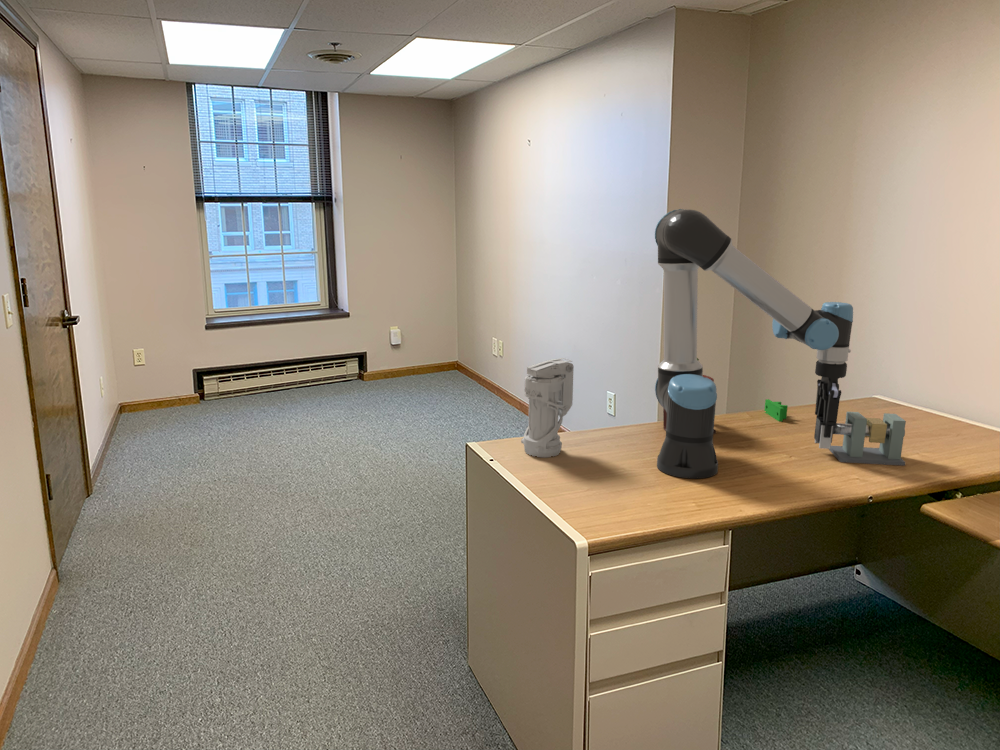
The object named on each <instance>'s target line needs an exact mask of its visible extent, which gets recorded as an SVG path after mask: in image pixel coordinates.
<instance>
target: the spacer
mask: <svg viewBox="0 0 1000 750" xmlns="http://www.w3.org/2000/svg"><path fill="white" fill-rule="evenodd" d="M865 418H866V419H867V424H866V425H869V426H870V427H871V428H870V435H869V436H865V438H868V442H869V443H871V444H872V443H873V444H875V443H876V444H880V443H885V436H886V428H887V424H886V423H885V422H883V419H881V418H876V417H865Z"/></svg>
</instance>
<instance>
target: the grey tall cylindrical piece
mask: <svg viewBox="0 0 1000 750" xmlns="http://www.w3.org/2000/svg"><path fill="white" fill-rule="evenodd" d="M565 360H566V361H565ZM571 362H573V360H572V359H571V360H570V359H569V358H566V357H565V358H564V357H561V358H554V359H548V360H544V361H541V362H539V363H535V364H533V365H528V367H527V366H526V374H527V375H526V376H524V397H526V398H528V426H527V427H526V429H525V432H524V434H523V438H521V440H520V442H521V444H523V448H524V452H525V453H526V454H527V455H528V454H529V455H528V456H531V455H532V456H531V457H535V456H537V457H536V458H552V457H551V456H553V457H556V456H558V455H560V454H561V450H562V445H563V443H562V441H561V437H560V435H559V434H558V432H559V430H560V428H561V426H562V424H563V420H564V419H563V418H564V416H566V415H567V414H568V412H569V411H570V409H571V408H572V407H573V400H574V399H573V396H574V395H573V392H574V364H573V363H571ZM559 453H560V454H559Z"/></svg>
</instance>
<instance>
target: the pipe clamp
mask: <svg viewBox="0 0 1000 750" xmlns="http://www.w3.org/2000/svg"><path fill="white" fill-rule="evenodd" d="M788 407H789V406H788V405H787V404H785V405H784V404H782V401H773V400H771V399H769V398H768V399H767V398H766V399H765V401H764V411H766V412H764V413H765V414H766V415H768V416H769V417H771V418H773V419H774V420H776V421H777V422H779V423H780V422H783V420H787V418H788Z"/></svg>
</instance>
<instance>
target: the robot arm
mask: <svg viewBox="0 0 1000 750" xmlns="http://www.w3.org/2000/svg"><path fill="white" fill-rule="evenodd" d="M654 230H655V231H654V239H655V242H656V243H655V244H656V246H657V264H658V266H660V267H661V268H662V270H663V359H662V361H661V362H659V364H658V365H657V379H656V382H655V385H654V391H655V393H654V394H655V397H656V400H657V402H658V403H659V405H660V406H661V407H662V408H664V409H665V411H666V412H667V422H666V431H665V438H664V441H663V443H662V446H661V447H660V451H659V453H658V455H657V461H656V467H657V469H658V470H659V471H661V472H662V473H664V474H666V475H670V476H673V477H677V478H682V479H683V478H684V479H707V478H710V477H713V476H716V475H717V474H718V471H719V470H718V469H719V461H718V458H717V452H716V450H715V446H714V440H713V439H714V434H713V431H714V428H715V420H716V419H715V417H716V416H715V415H716V406H717V404H716V403H717V399H718V393H717V385H716V383H715V381H714V382H713V381H712V380H710V379H709V378H706V377H703V375H704V374H703V372H704V371H703V364H702V363H701V362H700V361H699V360H697V358H698V357H697V356H698V290H699V289H698V279H699V278H698V275H699V271H698V270H699V269H702V270H703V271H705V272H706V271H711V272H713V273H714V274H716V276H717V277H719V278H721V280H722V281H724V282H725V283H727V284H728V285H729V286H730V287H732V288H733V289H735V290H736V291H737V292H738V293H739V294H741V296H743V297H745V298H746V299H747V300H749V301H750V302H751V303H752V304H754V305H755V306H756V307H758V308H759V309H760V310H761V311H763V312H764V313H766V315H767V316H769V317H771V318H772V326H771V327H772V333H773V335H774V337H775V338H777V339H783V340H789V339H793V340H795V341H797V342H799V343H802V344H804V345H806V346H808V347H809V348H810V349H812V350H817V351H816V359H817V361H816V362H815V370H814V374H815V375H816V376H819V377H821V378H820V379H819V378H818V379H817V380H816V383H817V388H816V389H817V390H816V399H815V411H814V415H816V417H823V423H820V425H821V433H820V442H817V441H816V440H815V439H814V444H818V448H819V449H823V450H825V449H826V450H829V449H830V447H831V446H832V443H831V438H832V439H833V437H832V429H833V426H834V425H835V426H836V423H838V422H837V421H838V415H839V406H840V401H841V400H840V399H841V396H842V390H841V389H840V384H839V379H840V378H841V379H843V378H845V377H846V376H847V371H848V363H847V361H848V360H849V359H848V357H849V354H850V353H851V351H852V350H851V349H850V341H851V336H852V335H851V333H852V327H853V322H854V307H853V305H852V304H850V303H847V302H841V301H840V302H839V301H838V302H836V301H826V302H824V303H822V306H821V309H818V310H817V309H816V310H815V309H813V308H812V307H811V306H810V305H808V304H807V303H806V302H805V301H803V300H802V299H801V298H800V297H798V296H797V295H796V294H795V293H793V292H792V291H791V290H789V288H787V287H785V285H783V284H782V283H780V282H779V280H777V279H775V278H774V277H773V276H772V275H770V274H769V273H768V272H767V271H766V270H764V269H763V268H762V267H761V266H759V265H758V264H757V263H755V262H754V261H753V260H752V259H751V258H749V257H748V256H747V255H745V254H744V253H743V252H741V251H740V249H738V248H736V247H735V246H734V245H733V239H732V238H731V237H730V236H729V235H727V234H726V233H725V232H724V231H723V230H722V229H721V228H719V226H718V225H716V223H714V222H713V221H712V220H711V219H710V218H709V216H707V215H705V213H702V212H700V211H698V210H695V209H687V208H686V209H683V208H682V209H681V208H679V209H674V210H672V211H669V212H667V213H666V214H664V215H663V216H662V217H661V218H660V219H659V220H658V222H657V224H656V226H655V229H654Z"/></svg>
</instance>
